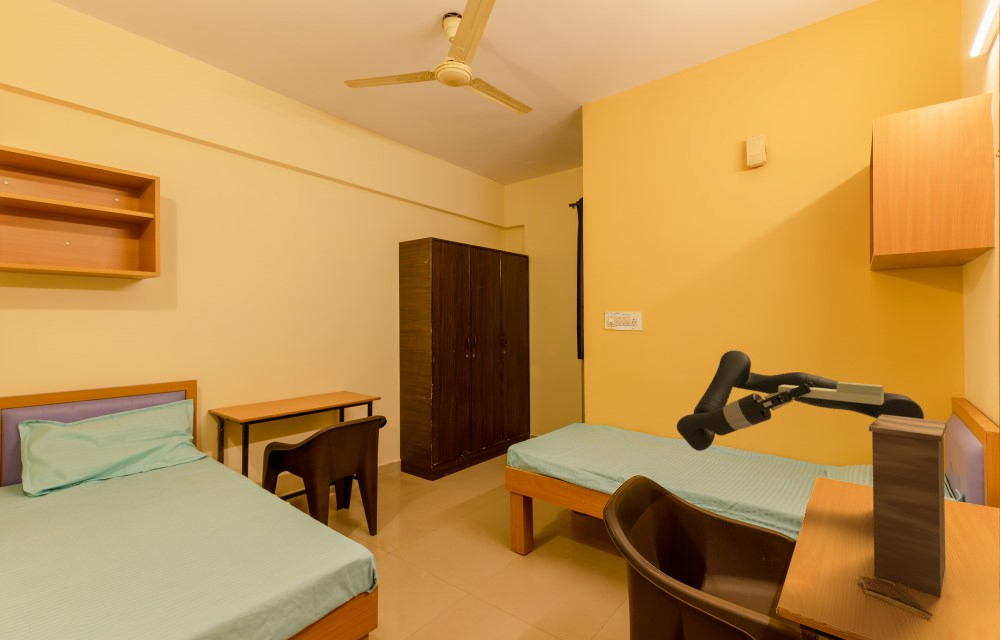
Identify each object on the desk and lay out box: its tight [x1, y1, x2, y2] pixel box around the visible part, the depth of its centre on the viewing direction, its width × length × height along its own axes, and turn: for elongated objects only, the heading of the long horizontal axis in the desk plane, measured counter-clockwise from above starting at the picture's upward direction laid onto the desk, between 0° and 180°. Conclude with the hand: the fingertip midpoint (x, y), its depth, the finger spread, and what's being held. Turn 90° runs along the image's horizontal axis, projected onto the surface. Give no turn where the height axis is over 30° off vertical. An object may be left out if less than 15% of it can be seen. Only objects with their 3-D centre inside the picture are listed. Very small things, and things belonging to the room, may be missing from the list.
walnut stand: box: [868, 414, 948, 598], centre depth 95 cm, size 17×11×32 cm, turn 132°
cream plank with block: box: [778, 381, 885, 405], centre depth 106 cm, size 4×20×4 cm, turn 42°
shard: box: [857, 575, 934, 620], centre depth 86 cm, size 11×8×2 cm
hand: (810, 386), depth 109 cm, fingers closed on cream plank with block, 4 cm apart
